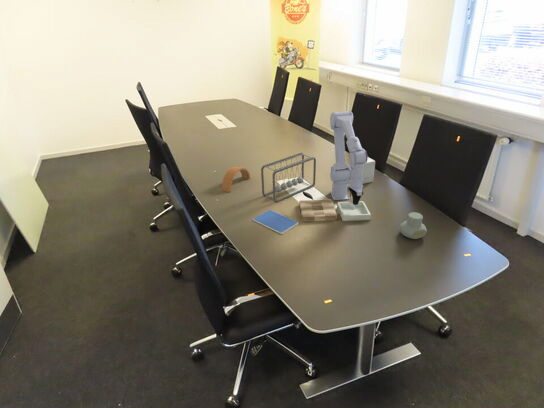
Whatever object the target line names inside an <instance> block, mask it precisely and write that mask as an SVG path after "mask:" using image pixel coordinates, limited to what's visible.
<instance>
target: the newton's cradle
mask: <svg viewBox="0 0 544 408" xmlns="http://www.w3.org/2000/svg"><path fill="white" fill-rule="evenodd" d="M300 157H301V160H296V161H295V162H293V161H294V159H295V158H296V159H299V158H300ZM305 157H306V158H305ZM289 160H290V161H291V162H290V161H289ZM312 160H313V174H312V175H313V179H312V180H313V181H312V182H313V183H312V184H309V183H307V182H305V181H304V177H305V175H304V174H305V163H307V162H309V161H312ZM316 161H317V159H316V157H314V156H312V157H311V156H309V155H306V154H304V153H303V152H299V153H296V154H295V153H294V154H293V155H290V156H287V157H284V158H281V159H279V160H275V161H273V162H270V163H267V164H264V165H262V166H261V168H260V172H261V173H260V175H261V176H260V177H261V193H262V196H264V197H269V198H271V199H272V200H273V202H274V203H278V201H279V202H281V201H283V200H285V199H288V198H290V197H294V195H297V194H299V193H303V192H304V191H306V190H309V189H311V188H314V186H315V185H316V168H317V166H316V165H317V162H316ZM287 162H288V163H289V164H287ZM283 163H285V165H284V166H279V165H278V164H280V165H282V164H283ZM299 165H301V169H300V171H301V173H300V172H299V169H298V167H297V166H299ZM273 166H275V167H274V169H273V168H271V167H273ZM276 166H277V167H279V168H276ZM295 166H296V171H298V173H299V176H298V177H297V178H296V175H297V174H295V175H294V172H292V174H293V177H294V178H293V179H291V180H290V178H291V176H292V175H291V174H289V175H290V177H289V176H287V178H288V180H287V181H286V182H285V180H283V182H282V183H281V184H280V183H277V184H276V180H278V179H279V180H280V177H281V176H282V177H281V178H284V177H286V175H287V173H288V172H289V171H288V169H290V171H293V169H294V167H295ZM264 168H267V169H269V170H271V171H273V172H272V190H271V191H269V192H266V193H265V181H264V179H265V178H264ZM283 171H286V173H285V174H284V175H285V176H284V175H283V174H281V176H279V178H277V173H282V172H283ZM283 176H284V177H283ZM302 183H303V184H305V185H307V187H305V188H302V189H299V190H297V191H295V192H292V193H290V194H288V195H285V196H283V197H281V198H276V193H280V192H281V191H282V190H283V191H286V190H287V189H288V188H289V189H290V188H292V187H293V186H294V187H295V186H297V185H298V184H299V185H300V184H302ZM271 194H272V196H269V195H271Z"/></svg>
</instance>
